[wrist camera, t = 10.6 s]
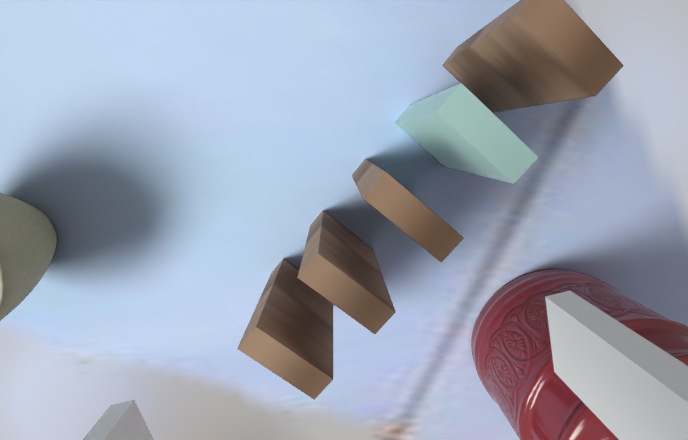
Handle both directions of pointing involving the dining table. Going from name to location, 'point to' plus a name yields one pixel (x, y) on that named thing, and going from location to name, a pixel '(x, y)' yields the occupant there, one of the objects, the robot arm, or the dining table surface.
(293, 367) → the domino
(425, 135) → the domino
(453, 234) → the domino
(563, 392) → the canister
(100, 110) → the dining table surface
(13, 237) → the flower pot
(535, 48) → the domino
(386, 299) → the domino
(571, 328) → the robot arm
